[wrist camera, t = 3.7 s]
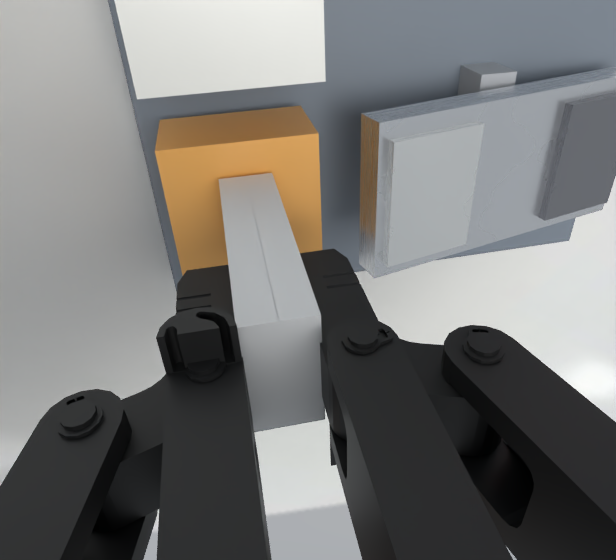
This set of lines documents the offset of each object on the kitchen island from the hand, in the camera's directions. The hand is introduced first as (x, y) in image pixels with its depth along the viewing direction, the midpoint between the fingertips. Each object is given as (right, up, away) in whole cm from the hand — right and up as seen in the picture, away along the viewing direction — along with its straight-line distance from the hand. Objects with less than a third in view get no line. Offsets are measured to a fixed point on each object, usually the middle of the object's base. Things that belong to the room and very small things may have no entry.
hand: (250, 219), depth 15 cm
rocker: (+8, +2, +2) cm, 9 cm away
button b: (-1, +6, -2) cm, 6 cm away
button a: (-1, +2, +2) cm, 3 cm away
